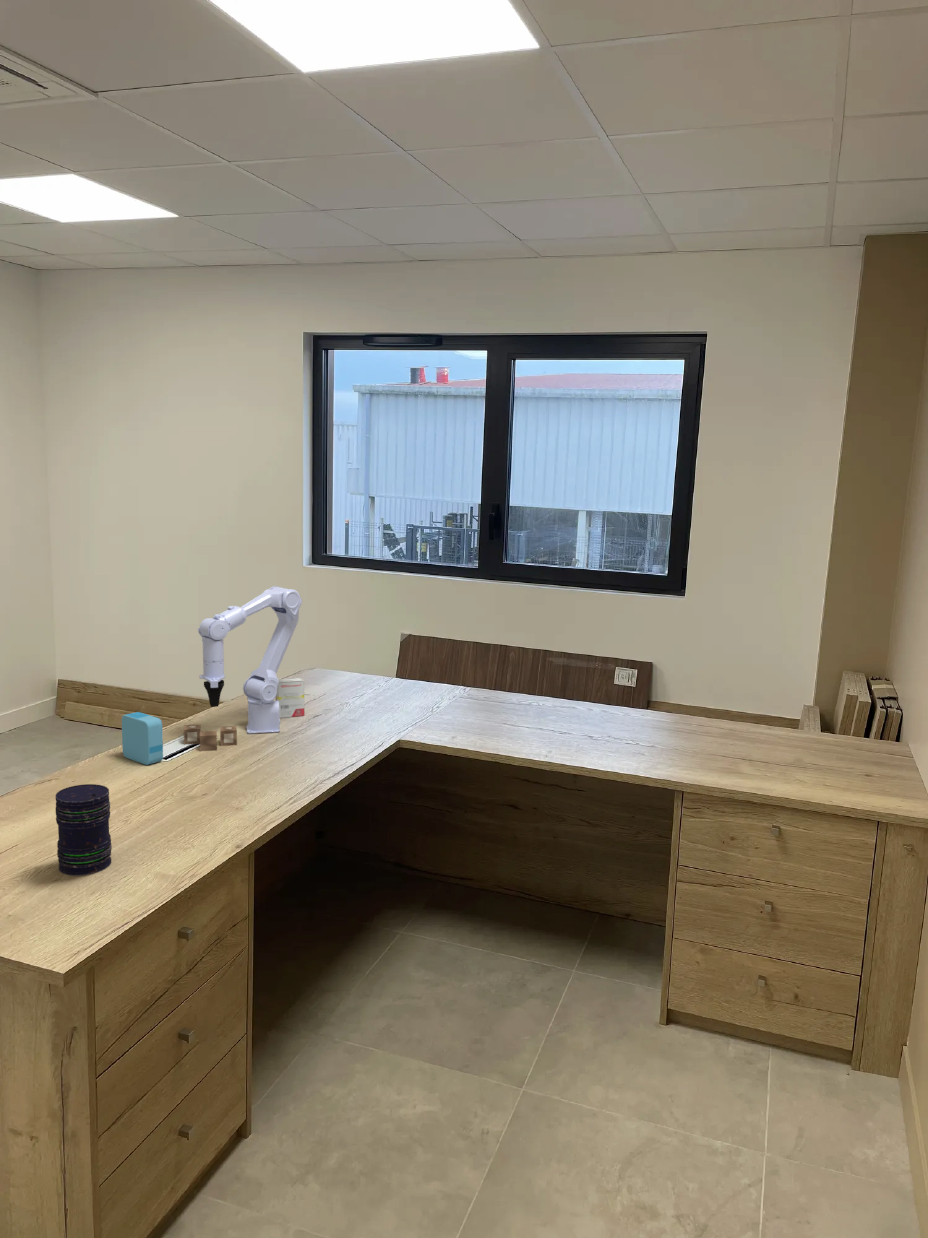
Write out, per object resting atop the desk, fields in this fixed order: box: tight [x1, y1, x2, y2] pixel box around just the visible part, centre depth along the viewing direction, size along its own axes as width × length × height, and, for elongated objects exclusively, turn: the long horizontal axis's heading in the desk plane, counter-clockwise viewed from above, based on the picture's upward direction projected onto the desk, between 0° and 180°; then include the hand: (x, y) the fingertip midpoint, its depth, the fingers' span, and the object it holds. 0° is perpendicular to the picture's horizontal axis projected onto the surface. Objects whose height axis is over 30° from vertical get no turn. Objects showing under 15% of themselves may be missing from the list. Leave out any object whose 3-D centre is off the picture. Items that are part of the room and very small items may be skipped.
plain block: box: [199, 730, 218, 752], centre depth 250 cm, size 4×4×4 cm
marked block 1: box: [183, 724, 202, 745], centre depth 255 cm, size 4×5×5 cm
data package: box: [121, 711, 164, 766], centre depth 238 cm, size 12×4×12 cm, turn 54°
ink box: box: [274, 677, 305, 719], centre depth 285 cm, size 9×5×12 cm, turn 114°
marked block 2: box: [219, 725, 238, 747], centre depth 255 cm, size 4×5×5 cm
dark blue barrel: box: [54, 783, 113, 877], centre depth 174 cm, size 10×10×15 cm
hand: (214, 706), depth 256 cm, fingers closed
